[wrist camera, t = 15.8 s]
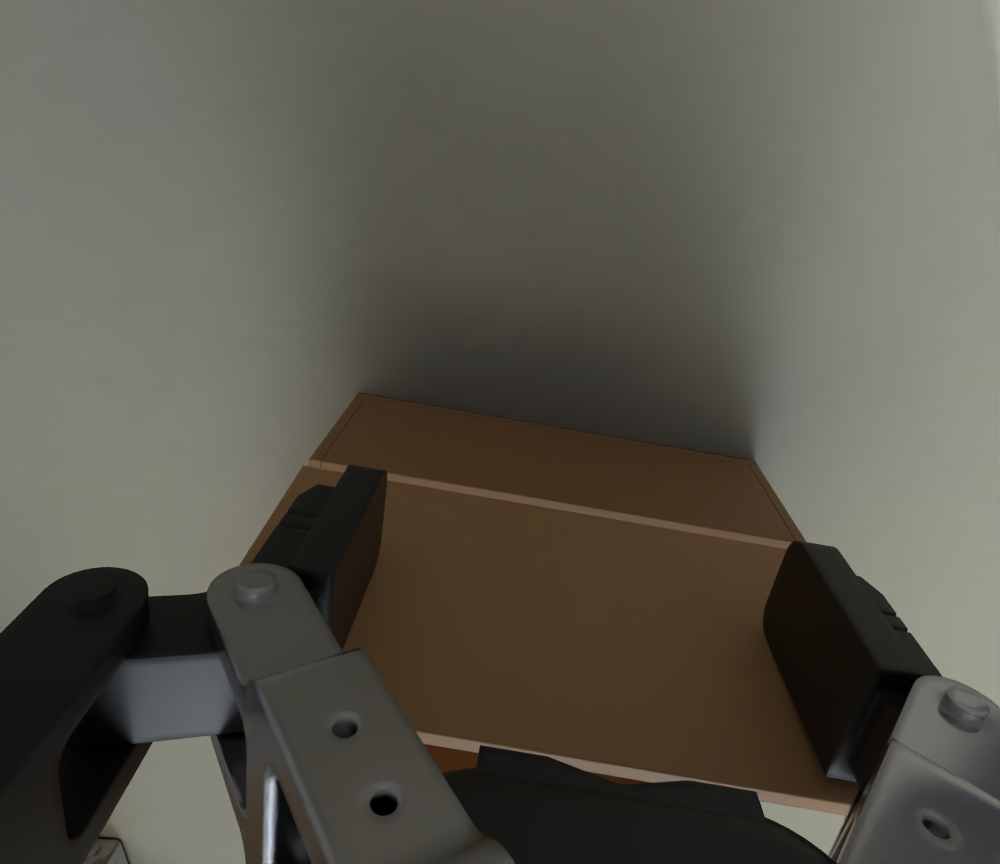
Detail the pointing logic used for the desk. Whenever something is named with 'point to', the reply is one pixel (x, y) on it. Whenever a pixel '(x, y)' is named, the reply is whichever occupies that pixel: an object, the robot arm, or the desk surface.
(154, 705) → the robot arm
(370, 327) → the desk surface
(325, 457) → the carton
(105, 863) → the coffee box
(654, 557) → the flap
